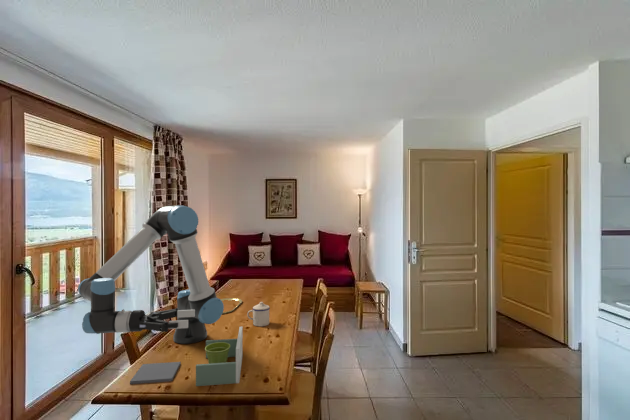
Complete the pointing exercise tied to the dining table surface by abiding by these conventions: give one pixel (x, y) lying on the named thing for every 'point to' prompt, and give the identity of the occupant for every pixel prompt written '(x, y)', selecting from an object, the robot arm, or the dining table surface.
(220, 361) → the plant pot
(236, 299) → the brass wire loop
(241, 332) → the grey-green angled panels
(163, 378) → the slate mat
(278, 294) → the dining table surface
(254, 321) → the teacup with lid
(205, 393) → the dining table surface
